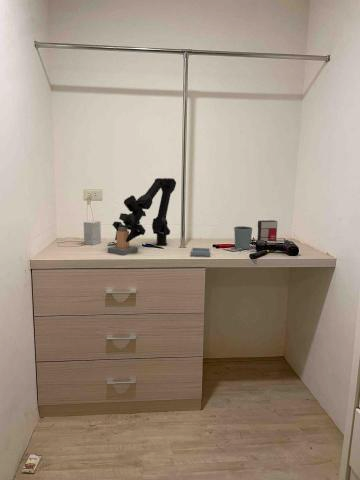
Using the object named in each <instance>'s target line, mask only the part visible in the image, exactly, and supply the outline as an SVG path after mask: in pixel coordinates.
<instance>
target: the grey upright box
mask: <svg viewBox="0 0 360 480" xmlns="http://www.w3.org/2000/svg"><path fill="white" fill-rule="evenodd" d="M277 232H278V220H274V219H273V220H258V221H257V240H264V241H275V242H276V243H277V237H278V236H277V234H278V233H277ZM257 240H256V241H257Z"/></svg>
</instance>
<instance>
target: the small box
mask: <svg viewBox="0 0 360 480" xmlns="http://www.w3.org/2000/svg"><path fill="white" fill-rule="evenodd" d="M101 226H102V224H101V221H100V220H87V221H83V244H84V245H87V246H88V245H89V246H94V245H99V244H101V243H102V236H101V235H102V234H101V233H102V232H101V231H102V230H101Z"/></svg>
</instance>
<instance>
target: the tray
mask: <svg viewBox="0 0 360 480" xmlns="http://www.w3.org/2000/svg"><path fill="white" fill-rule="evenodd" d="M211 249H212V248H210V247H209V248H208V247H207V248H206V247H191V249H190V257H200V258H201V257H203V258H211Z"/></svg>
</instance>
